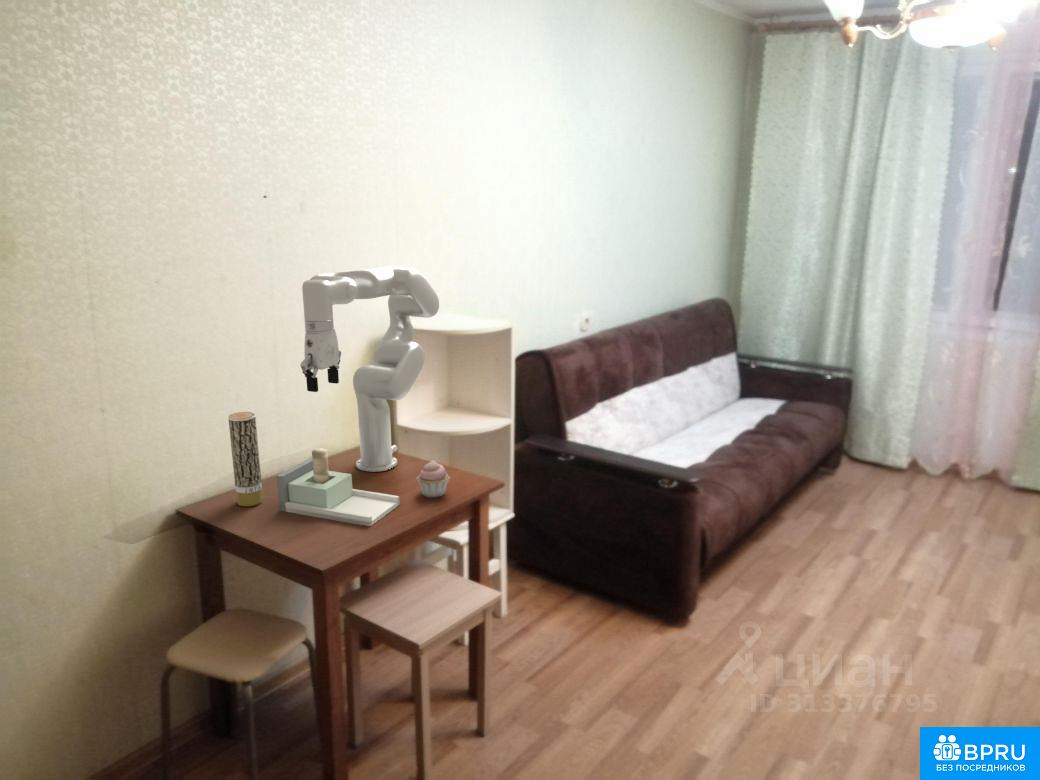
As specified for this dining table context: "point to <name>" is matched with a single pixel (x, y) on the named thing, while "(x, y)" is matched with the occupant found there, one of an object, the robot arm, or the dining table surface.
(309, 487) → the slide block
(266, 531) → the dining table surface
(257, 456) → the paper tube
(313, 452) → the dowel
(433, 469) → the cupcake
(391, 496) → the rail base
